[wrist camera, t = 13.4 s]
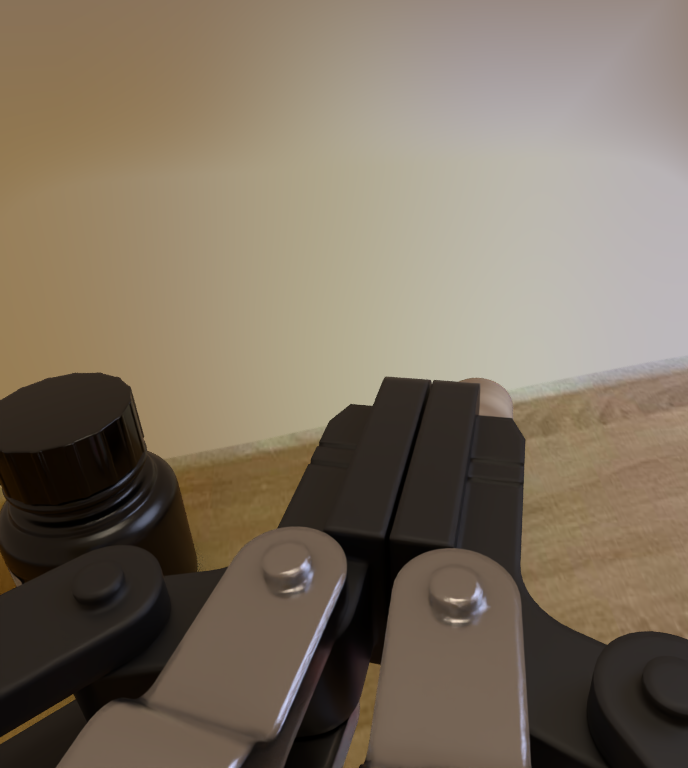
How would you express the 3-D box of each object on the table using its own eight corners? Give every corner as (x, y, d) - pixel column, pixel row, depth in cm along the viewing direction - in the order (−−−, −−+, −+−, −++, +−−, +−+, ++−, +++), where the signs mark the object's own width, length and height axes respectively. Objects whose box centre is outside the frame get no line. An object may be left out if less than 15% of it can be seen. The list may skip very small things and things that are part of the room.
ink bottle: (91, 521, 41) (33, 355, 35) (223, 532, 39) (186, 360, 33) (-6, 653, 33) (-105, 468, 27) (155, 675, 31) (90, 482, 25)
